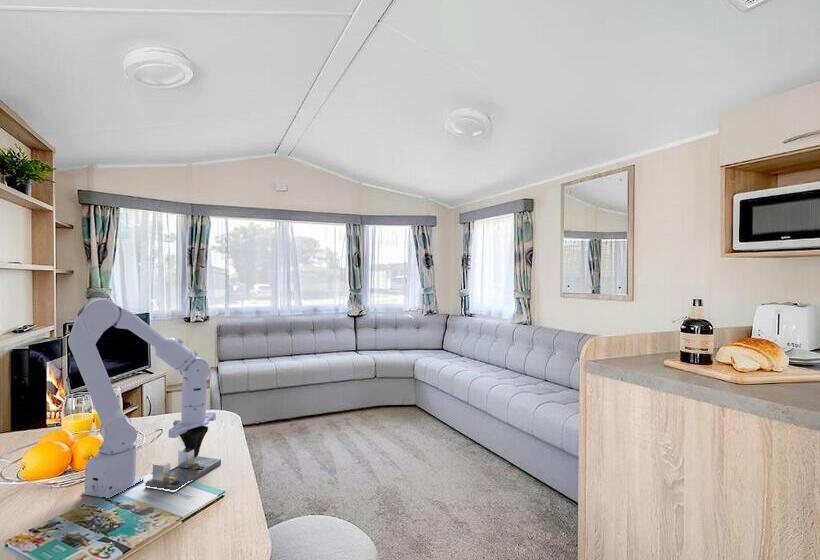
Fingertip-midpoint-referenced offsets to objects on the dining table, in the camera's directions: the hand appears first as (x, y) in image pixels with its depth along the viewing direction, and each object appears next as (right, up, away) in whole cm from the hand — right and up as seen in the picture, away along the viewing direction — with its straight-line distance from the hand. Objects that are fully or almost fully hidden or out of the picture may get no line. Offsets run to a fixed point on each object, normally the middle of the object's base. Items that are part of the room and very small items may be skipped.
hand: (192, 456), depth 112 cm
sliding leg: (+1, -2, -3) cm, 3 cm away
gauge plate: (0, -3, -4) cm, 5 cm away
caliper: (-16, -3, +26) cm, 31 cm away
